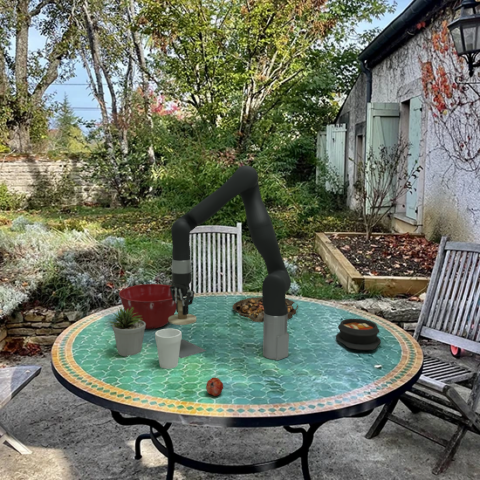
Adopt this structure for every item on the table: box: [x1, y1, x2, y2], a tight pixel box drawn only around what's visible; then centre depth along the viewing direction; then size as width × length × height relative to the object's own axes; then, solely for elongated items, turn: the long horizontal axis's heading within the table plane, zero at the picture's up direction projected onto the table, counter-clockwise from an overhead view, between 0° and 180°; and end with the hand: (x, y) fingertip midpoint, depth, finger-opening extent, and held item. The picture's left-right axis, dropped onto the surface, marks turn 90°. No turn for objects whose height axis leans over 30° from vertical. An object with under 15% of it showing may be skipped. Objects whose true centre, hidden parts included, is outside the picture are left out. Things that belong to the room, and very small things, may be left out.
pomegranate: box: [205, 376, 224, 397], centre depth 156 cm, size 6×6×8 cm
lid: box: [168, 300, 197, 326], centre depth 189 cm, size 11×11×8 cm
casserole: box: [335, 318, 382, 351], centre depth 203 cm, size 25×19×8 cm
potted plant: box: [108, 307, 146, 357], centre depth 187 cm, size 13×14×20 cm
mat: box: [179, 338, 207, 359], centre depth 192 cm, size 16×12×1 cm
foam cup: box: [154, 328, 183, 370], centre depth 175 cm, size 10×9×13 cm
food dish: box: [232, 296, 299, 323], centre depth 243 cm, size 35×33×8 cm
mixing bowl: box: [118, 283, 177, 330], centre depth 221 cm, size 28×28×15 cm
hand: (182, 313), depth 189 cm, fingers closed on lid, 3 cm apart
